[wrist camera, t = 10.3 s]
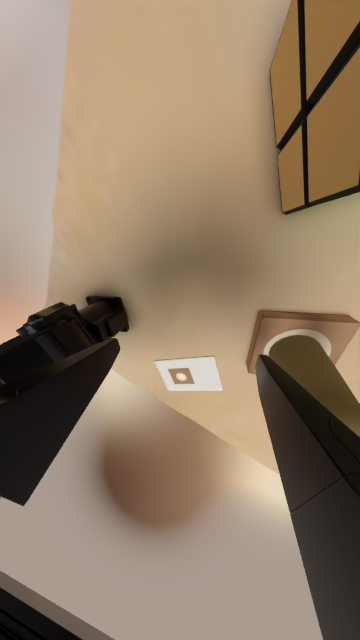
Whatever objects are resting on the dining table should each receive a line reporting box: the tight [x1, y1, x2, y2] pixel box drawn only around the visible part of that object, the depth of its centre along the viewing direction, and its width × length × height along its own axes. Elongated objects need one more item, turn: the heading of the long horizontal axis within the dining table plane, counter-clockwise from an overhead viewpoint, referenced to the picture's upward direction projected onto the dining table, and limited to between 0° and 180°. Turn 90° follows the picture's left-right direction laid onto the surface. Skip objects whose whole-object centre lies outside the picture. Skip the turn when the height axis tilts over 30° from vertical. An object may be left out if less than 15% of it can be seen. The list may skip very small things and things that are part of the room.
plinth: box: [246, 311, 360, 374], centre depth 21 cm, size 10×10×2 cm
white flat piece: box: [154, 356, 223, 391], centre depth 29 cm, size 12×9×1 cm
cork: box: [269, 335, 360, 437], centre depth 15 cm, size 6×6×11 cm
